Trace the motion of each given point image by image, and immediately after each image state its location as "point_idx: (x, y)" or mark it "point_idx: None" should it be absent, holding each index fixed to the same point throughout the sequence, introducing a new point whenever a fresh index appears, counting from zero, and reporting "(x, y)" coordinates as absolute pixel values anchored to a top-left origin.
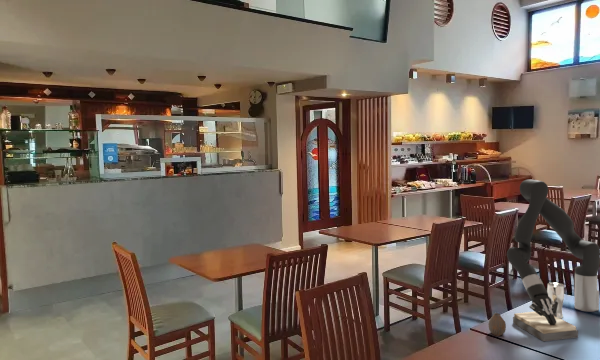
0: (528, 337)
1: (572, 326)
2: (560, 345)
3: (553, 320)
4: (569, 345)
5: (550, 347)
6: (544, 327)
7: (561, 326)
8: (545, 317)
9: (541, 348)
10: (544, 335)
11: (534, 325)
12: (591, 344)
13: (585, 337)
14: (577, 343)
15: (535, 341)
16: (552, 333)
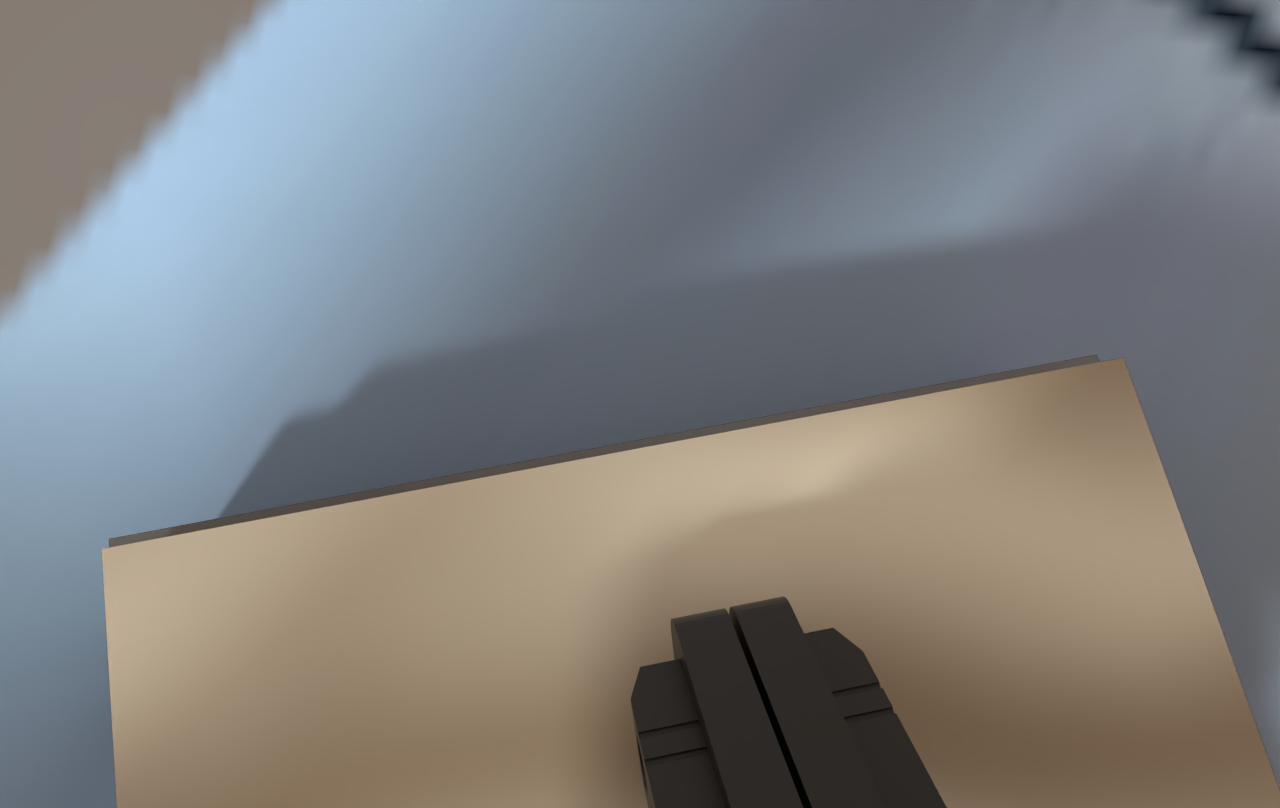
0: (1267, 626)
1: (198, 569)
2: (771, 222)
3: (747, 660)
4: (601, 212)
5: (993, 157)
6: (1039, 538)
7: (525, 582)
8: None
9: (1168, 131)
10: (1061, 367)
11: (1252, 742)
12: (142, 227)
13: (4, 566)
14: (390, 285)
15: (1181, 420)
16: (863, 398)
